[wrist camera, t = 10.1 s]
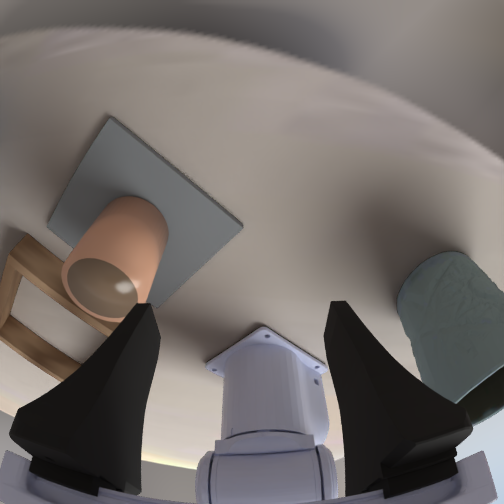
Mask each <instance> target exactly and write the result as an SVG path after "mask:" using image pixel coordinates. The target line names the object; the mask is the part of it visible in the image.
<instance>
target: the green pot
mask: <svg viewBox="0 0 504 504" xmlns="http://www.w3.org/2000/svg"><path fill="white" fill-rule="evenodd" d="M397 310H398V314H399V317H400V320H401V322H402V325H403V328H404V331H405V333H406V335H407V337H409V339H410V341H411V346H412V350H413V355H414V357H415V359H416V364H417V367H418V370H419V372H420V375H421V380H422V382H423V383H424V384H425V385H426V386H428V387H429V388H431V389H432V390H434V391H435V392H437V393H438V394H440V395H441V396H443V397H445V398H446V399H448V400H450V401H452V402H454V403H456V404H457V405H459V406H461V407H463V408H465V409H466V411H467V413H468V415H469V418H470V420H471V423H472V426H475V425H477V424H479V423H481V422H483V421H484V420H486V419H488V418H490V417H492V416H493V415H495V414H497V413H498V412H499V411H501V410H502V409H504V292H503V291H501V290H500V289H499V288H498V287H497V285H496V284H495V283H494V282H492V281H491V279H490V278H489V277H488V276H487V274H485V273H484V272H483V271H482V270H481V269H480V268H479V267H478V265H477V264H476V263H475V262H474V261H473V260H471V259H470V258H469V257H468V256H466V255H465V254H463V253H460V252H456V251H448V252H443V253H440V254H437V255H435V256H433V257H431V258H429V259H427V260H426V261H424V262H423V263H421V264H420V265H419V266H418V267H417V268H416V269H415V270H414V271H413V272H412V273H411V274H410V275H409V276H408V278H407V279H406V280H405V282H404V284H403V285H402V287H401V289H400V292H399V295H398V297H397Z"/></svg>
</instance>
